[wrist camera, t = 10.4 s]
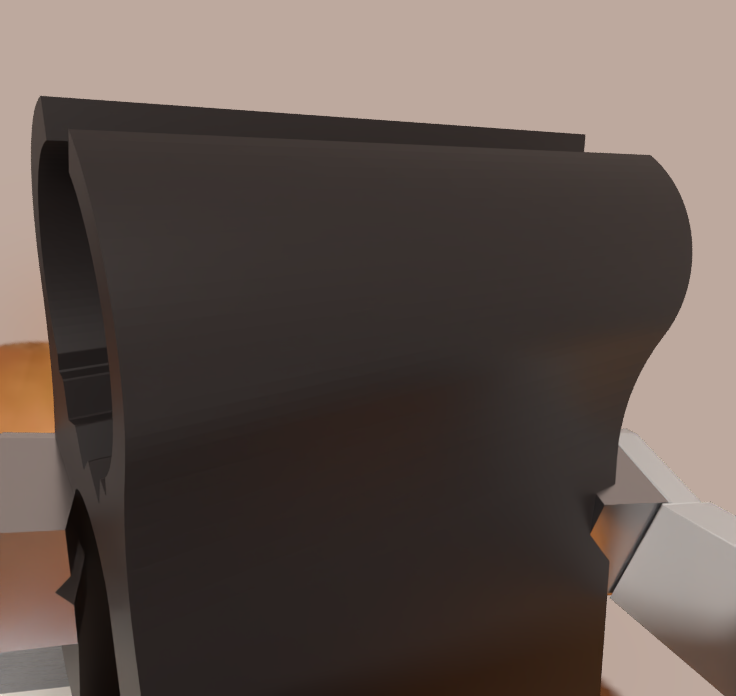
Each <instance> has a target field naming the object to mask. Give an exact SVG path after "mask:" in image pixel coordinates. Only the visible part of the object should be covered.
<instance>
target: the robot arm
mask: <svg viewBox="0 0 736 696" xmlns="http://www.w3.org/2000/svg"><path fill="white" fill-rule="evenodd" d="M82 527H83V526H82V521H81V517H80V513H79V509H78V505H77V501H76V497H75V495H74V492H73V489H72V486H71V483H70V480H69V476H68V473H67V470H66V467H65V464H64V461H63V458H62V455H61V452H60V449H59V445H58V442H57V439H56V437H55V433H12V432H3V433H2V434H1V433H0V653H3V652H11V651H19V650H28V649H36V648H44V647H53V646H61V645H69V644H78V640H79V635H80V630H81V625H82V620H83V615H84V610H85V606H86V601H87V596H88V586H87V573H86V560H85V554H84V551H83V549H82V547H81V545H80V543H79V539H80V535H81V531H82ZM590 535H591V537H592V538H593V539H594V541H595V542H596V544H597V545H598V546H599V548H600V549H601V550H602V552H603V553H604V554H605V556H606V557H607V558H608V560H609V561H610V563H609V577H608V590H607V595H611V597H610V598H611V599H612V600H613V601H614V602H615V603H617V604H618V605H619V606H620V607H621V608H622V609H623V610H625V611H626V612H627V613H628V614H629V615H631V616H632V617H633V618H634V619H635V620H636V621H638V622H639V623H640V624H641V625H642V626H643V627H645V628H646V629H647V630H648V631H649V632H651V633H652V634H653V635H654V636H655V637H656V638H657V639H659V640H660V641H661V642H662V643H663V644H664V645H666V646H667V647H668V648H669V649H670V650H672V651H673V652H674V653H675V654H676V655H677V656H679V657H680V658H681V659H682V660H683V661H684V662H686V663H687V664H688V665H689V666H691V668H693V669H694V670H695V671H696V672H697V673H699V674H700V675H701V676H702V677H703V678H704V679H706V680H707V681H708V682H709V683H710V684H711V685H713V686H714V687H715V688H716V689H717V690H718V691H720V692H721V693H722V694H723V695H724V696H736V515H734V514H732V513H730V512H728V511H726V510H725V509H723V508H721V507H719V506H717V505H715V504H713V503H711V502H701V501H700V500H699V499H698V498H697V497H696V496H695V494H693V492H691V490H690V489H689V488H688V487H687V486H686V485H685V484H684V483H683V482H682V481H681V480H680V479H679V478H678V476H677V475H676V474H675V473H674V472H673V471H672V470H671V469H670V468H669V467H668V466H667V465H666V464H665V463H664V462H663V461H662V460H661V459H660V457H659V456H658V455H657V454H656V453H655V452H654V451H653V450H652V449H651V448H650V447H649V446H648V445H647V444H646V443H645V442H644V441H643V439H641V437H640V436H639V435H638V434H637V433H635V432H633V431H631V430H628V429H621V431H620V437H619V444H618V454H617V467H616V481H615V484H614V485H612V486H610V487H608V488H606V489H604V490H602V491H600V492H598V493H596V498H595V504H594V511H593V518H592V525H591V531H590Z"/></svg>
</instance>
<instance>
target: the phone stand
mask: <svg viewBox="0 0 736 696" xmlns="http://www.w3.org/2000/svg"><path fill="white" fill-rule="evenodd" d="M584 145H585V135H584V134H582V135H581V134H569V133H555V132H541V131H527V130H513V129H498V128H484V127H471V126H457V125H442V124H428V123H414V122H400V121H386V120H372V119H358V118H344V117H343V118H342V117H330V116H316V115H301V114H287V113H273V112H258V111H245V110H231V109H216V108H203V107H189V106H173V105H160V104H146V103H132V102H117V101H104V100H90V99H75V98H61V97H47V96H40V97H39V99H38V101H37V104H36V106H35V110H34V116H33V124H32V138H31V174H32V195H33V208H34V221H35V232H36V241H37V250H38V258H39V266H40V273H41V282H42V289H43V297H44V305H45V313H46V321H47V330H48V339H49V349H50V359H51V370H52V382H53V396H54V417H55V437H56V439H57V442H58V445H59V449H60V452H61V455H62V458H63V461H64V464H65V467H66V470H67V473H68V476H69V480H70V483H71V486H72V489H73V492H74V495H75V497H76V501H77V505H78V509H79V513H80V517H81V521H82V526H83V527H82V531H81V535H80V539H79V543H80V545H81V547H82V549H83V551H84V554H85V560H86V573H87V586H88V596H87V601H86V606H85V610H84V615H83V620H82V625H81V630H80V635H79V640H78V644H69V645H62V652H63V658H64V663H65V668H66V672H67V677H68V681H69V685H70V689H71V694H72V696H600V686H601V673H602V658H603V645H604V631H605V618H606V604H607V603H606V602H607V590H608V577H609V563H610V561H609V560H608V558H607V557H606V556H605V554H604V553H603V552H602V550H601V549H600V548H599V546H598V545H597V544H596V542H595V541H594V539H593V538H592V537H591V535H590V531H591V525H592V518H593V511H594V504H595V498H596V493H598V492H600V491H602V490H604V489H606V488H608V487H610V486H612V485H614V484H615V481H616V467H617V454H618V444H619V437H620V431H621V426H622V422H623V418H624V414H625V410H626V407H627V403H628V401H629V398H630V395H631V393H632V390H633V387H634V385H635V383H636V381H637V378H638V376H639V374H640V372H641V370H642V368H643V367H644V365H645V363H646V361H647V360H648V358H649V357H650V355H651V353H652V352H653V350H654V349H655V347H656V346H657V345H658V343H659V342H660V340H661V339H662V338H663V336H664V335H665V334H666V332H667V331H668V330H669V328H670V326H671V325H672V323H673V322H674V320H675V318H676V316H677V314H678V312H679V310H680V308H681V306H682V303H683V300H684V298H685V294H686V291H687V288H688V284H689V279H690V273H691V266H692V237H691V230H690V224H689V219H688V215H687V212H686V208H685V206H684V203H683V200H682V198H681V195H680V193H679V191H678V189H677V188H676V186H675V184H674V182H673V181H672V179H671V178H670V176H669V175H668V173H667V172H666V171H665V170H664V169H663V167H662V166H661V165H660V164H659V163H658V162H657V161H656V160H655V159H654V158H653V157H652V156H650V155H634V154H612V153H589V152H584Z"/></svg>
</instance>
